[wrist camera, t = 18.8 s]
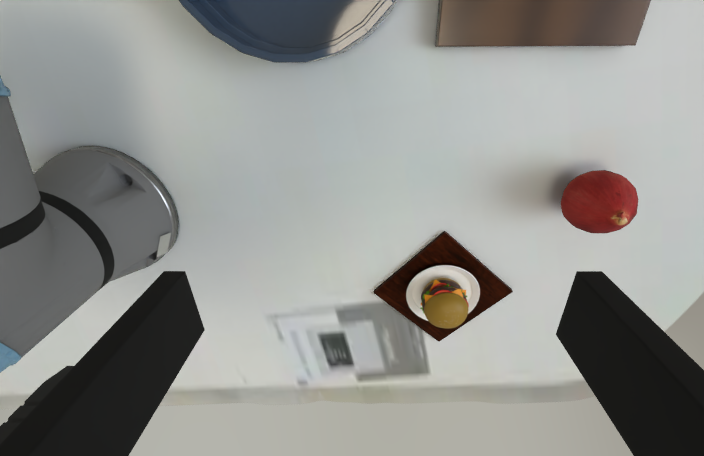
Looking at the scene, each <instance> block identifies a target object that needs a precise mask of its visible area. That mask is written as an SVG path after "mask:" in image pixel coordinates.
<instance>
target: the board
mask: <svg viewBox="0 0 704 456" xmlns="http://www.w3.org/2000/svg"><path fill="white" fill-rule="evenodd" d="M650 1H651V0H440V3H439V13H438V23H437V34H436V44H435V46H436V47H461V46H625V45H636V42H637V39H638V36H639V33H640V31H641V28H642V25H643V22H644V19H645V16H646V13H647V10H648V7H649V4H650Z"/></svg>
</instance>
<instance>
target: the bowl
mask: <svg viewBox="0 0 704 456" xmlns="http://www.w3.org/2000/svg"><path fill="white" fill-rule="evenodd" d="M179 1H180V3H181V4H182V5H183V7H184V8H185V9H186V10H187V11H188V12H189V13H190V14H191V15H192V16H193V17H194V18H195V19H197V20H198V21H199V22H200V23H201V24H202V25H203V26H204V27H205V28H206V29H207V30H208V31H209V32H210V33H211V34H212V35H214V36H215V37H217V38H219V39H220V40H222V41H224V42H225V43H227V44H229V45H230V46H232V47H233V48H235V49H237V50H238V51H240V52H242V53H244V54H248V55H251V56H255V57H258V58H261V59H265V60H268V61H272V62H312V61H318V60H321V59H324V58H328V57H331V56H334V55H337V54H341V53H344V52H346V51H347V50H349V49H350V48H352V47H353V46H355V45H356V44H358V43H359V42H361V41H362V40H364V39H365V38H367V37H368V36H369V35H370V34H372V32H373V31H374V30H375V29H376V28H377V27H378V26H379V24H380V23H381V22H382V21H383V20H384V19H385V18H386V17H387V15H388V14H389V13H390V12H391V11H392V9H393V8H394V6H395V4H396V2H397V0H179Z"/></svg>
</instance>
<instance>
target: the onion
mask: <svg viewBox="0 0 704 456" xmlns="http://www.w3.org/2000/svg"><path fill="white" fill-rule="evenodd" d="M637 206H638V196H637V192H636V189H635V187H634V186H633V185H632V184H631V183H630V182H629V181H628V180H627V179H626V178H625V177H623V176H621V175H619V174H616V173H613V172H609V171H605V170H601V171H591V172H587V173H585V174H582V175H579V176H577V177H576V178H575V179H573V180H572V181H571V182H570V183H569V184H568V185H567V187H566V188H565V190H564V192H563V196H562V199H561V209H562V213H563V215H564V217H565V218H566V219H567V220H568V221H569V222H570V223H571V224H572V225H573V226H575V227H576V228H579V229H581V230H584V231H587V232H590V233H609V232H613V231H617V230H620V229H621V228H623V227H625V226H626V225H628V224H629V223H630V222H631V221H632V219H633V218H634V217H635V215H636V214H637Z"/></svg>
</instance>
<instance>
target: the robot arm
mask: <svg viewBox="0 0 704 456" xmlns="http://www.w3.org/2000/svg"><path fill="white" fill-rule="evenodd" d="M8 96H11V93H10V90H9V89H8V88H7V87H6V86H4V84H3V81H2V79H1V76H0V372H2V371H3V370H4V369H6V368H7V367H8V366H10V365H13V364H16V363H17V362H18V361H19V360H20V359H21V358H22V357H23V356H24V355H25V354H26V353H27V352H28V351H30V350H31V349H32V348H33V347H34V346H35V345H37V344H38V343H39V342H40V341H41V340H42V339H43V338H45V337H46V336H47V335H48V334H49V333H50V332H51V331H53V330H54V329H55V328H56V327H57V326H58V325H59V324H61V323H62V322H63V321H64V320H65V319H66V318H67V317H69V316H70V315H71V314H72V313H73V312H74V311H75V310H77V309H78V308H79V307H80V306H81V305H82V304H83V303H85V302H86V301H87V300H88V299H89V298H90V297H91V296H93V295H94V294H95V293H96V292H97V291H98V290H99V289H101V288H102V287H103V286H104V285H105V284H107V283H108V282H110V281H112V280H115V279H117V278H120V277H123V276H125V275H128V274H130V273H133V272H135V271H138V270H141V269H143V268H146V267H148V266H150V265H152V264H153V263H155V262H156V261H158V260H159V259H161V258H162V257H163V256H164V255H165V254H166V253H167V252H168V251H169V250H170V249H171V248H172V246H173V245H174V243H175V241H176V238H177V234H178V216H177V211H176V208H175V205H174V203H173V200H172V198H171V196H170V195H169V193H168V191H167V190H166V188H165V187H164V185H163V184H162V183H161V182H160V180H159V179H158V178H157V177H156V176H155V175H154V174H153V173H152V172H151V171H150V170H149V169H147V168H146V167H145V166H144V165H142V164H141V163H140V162H138V161H136V160H135V159H133V158H132V157H130V156H128V155H126V154H124V153H121V152H119V151H116V150H113V149H110V148H106V147H100V146H84V147H79V148H75V149H72V150H69V151H66V152H63V153H61V154H59V155H57V156H55V157H54V158H52V159H50V160H49V161H48V162H46V163H45V164H44V165H43V166H42V167H41V168H40V169H39V170H38V171H36V172H35V173H34V174H33V172H32V169H31V166H30V163H29V160H28V157H27V154H26V151H25V148H24V145H23V142H22V139H21V136H20V132H19V129H18V126H17V123H16V120H15V117H14V114H13V111H12V108H11V105H10V102H9V99H8ZM203 331H204V327H203V324H202V321H201V318H200V315H199V312H198V309H197V306H196V303H195V300H194V297H193V294H192V291H191V288H190V285H189V282H188V279H187V276H186V273H185V271H164V272H163V273H162V274H161V275H160V276H159V277H158V278H157V279H156V280H155V282H154V283H153V284H152V285H151V286H150V287H149V288H148V289H147V290H146V291H145V292H144V293H143V294H142V295H141V296H140V297H139V298H138V299H137V301H136V302H135V303H134V304H133V305H132V306H131V307H130V308H129V309H128V310H127V311H126V312H125V313H124V314H123V315H122V316H121V317H120V318H119V320H118V321H117V322H116V323H115V324H114V325H113V326H112V327H111V328H110V329H109V330H108V331H107V332H106V333H105V334H104V335H103V336H102V337H101V339H100V340H99V341H98V342H97V343H96V344H95V345H94V346H93V347H92V348H91V349H90V350H89V351H88V352H87V353H86V354H85V355H84V356H83V358H82V359H81V360H80V361H79V362H78V363H77V364H76V365H75V366H67V367H65V368H64V369H62V370H61V371H59V372H58V373H57V374H55V375H54V376H52V377H51V378H49V379H48V380H46V381H45V382H44V383H43V384H42V385H41V386H40V387H39V388H38V389H37V390H36V391H35V392H34V393H33V394H32V395H31V396H30V397H29V398H28V399H27V400H26V401H25V404H24V405H23V406H20V407H19V408H18V409H17V410H16V411H15V412H14V413H13V414H12V415H11V416H10V417H9V418H8V421H7V422H6V423H3V424H2V425H1V426H0V456H128V455H129V453H130V452H131V450H132V449H133V447H134V446H135V444H136V442H137V441H138V439H139V437H140V436H141V434H142V432H143V431H144V429H145V427H146V426H147V424H148V422H149V421H150V419H151V417H152V416H153V414H154V412H155V411H156V409H157V408H158V406H159V404H160V403H161V401H162V399H163V398H164V396H165V394H166V393H167V391H168V389H169V388H170V386H171V384H172V383H173V381H174V379H175V378H176V376H177V374H178V373H179V371H180V370H181V368H182V366H183V365H184V363H185V361H186V360H187V358H188V356H189V355H190V353H191V351H192V350H193V348H194V346H195V345H196V343H197V341H198V340H199V338H200V336H201V335H202V333H203ZM556 335H557V337H558V338H559V340H560V341H561V343H562V345H563V346H564V348H565V349H566V351H567V352H568V354H569V355H570V357H571V359H572V360H573V362H574V363H575V365H576V366H577V368H578V369H579V371H580V373H581V374H582V376H583V377H584V379H585V380H586V382H587V383H588V385H589V387H590V388H591V390H592V391H593V393H594V394H595V396H596V397H597V399H598V401H599V402H600V404H601V405H602V407H603V408H604V410H605V411H606V413H607V415H608V416H609V418H610V419H611V421H612V422H613V424H614V425H615V427H616V429H617V430H618V432H619V433H620V435H621V436H622V438H623V440H624V441H625V443H626V444H627V446H628V447H629V449H630V450H631V452H632V453H633V455H634V456H704V370H703V369H702V368H701V367H700V366H699V365H698V364H697V363H696V362H694V360H693V359H691V358H690V357H689V356H688V355H687V354H686V353H685V352H684V351H683V350H682V349H681V348H680V347H679V346H678V345H677V344H676V343H675V342H674V341H673V340H672V339H671V338H670V337H669V336H667V334H666V333H665V332H664V331H663V330H662V329H661V328H660V327H659V326H657V325H656V324H655V323H654V322H653V321H652V320H651V319H650V318H649V317H648V316H647V315H646V314H645V313H644V312H643V311H642V310H641V309H640V308H639V307H638V306H637V305H636V304H635V303H634V302H633V301H632V300H631V299H630V298H629V297H628V296H627V295H625V294H624V293H623V292H622V291H621V290H620V289H619V288H618V287H617V286H616V285H615V284H614V283H613V282H612V281H611V280H610V279H609V278H608V277H607V276H606V275H605V274H604V273H603V272H577V273H576V276H575V279H574V282H573V285H572V288H571V291H570V294H569V297H568V300H567V303H566V306H565V309H564V312H563V315H562V318H561V321H560V324H559V327H558V330H557V333H556Z"/></svg>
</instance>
